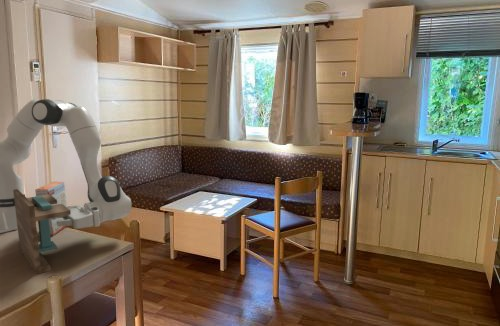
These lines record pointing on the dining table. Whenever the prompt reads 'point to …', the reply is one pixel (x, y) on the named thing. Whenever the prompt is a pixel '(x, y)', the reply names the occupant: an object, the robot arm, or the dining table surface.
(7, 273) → the dining table surface
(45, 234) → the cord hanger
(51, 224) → the cracker box
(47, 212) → the wall shelf
